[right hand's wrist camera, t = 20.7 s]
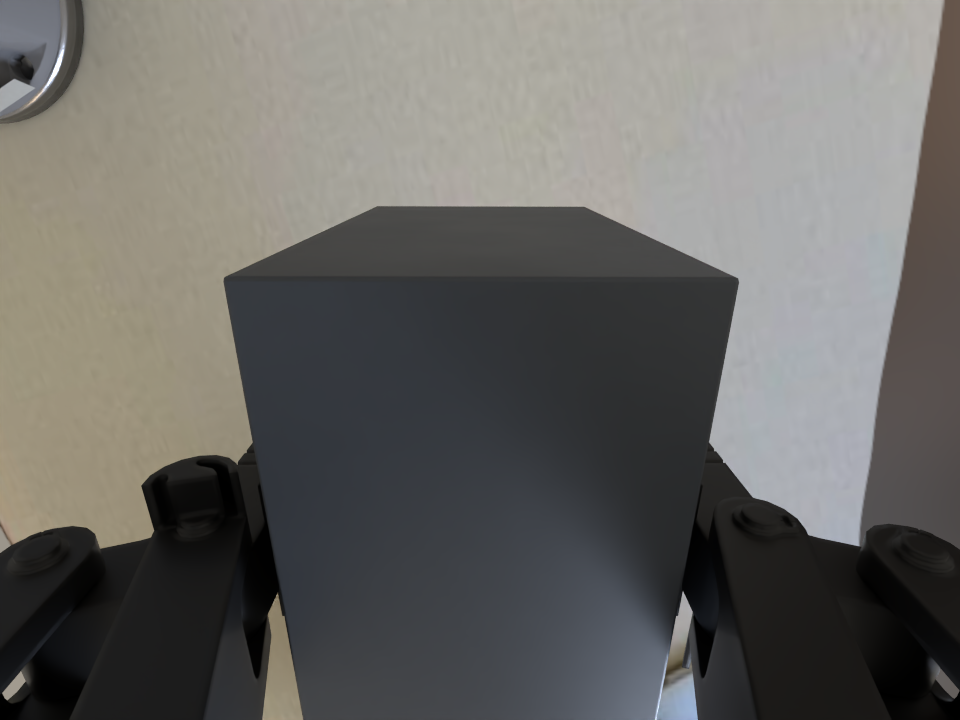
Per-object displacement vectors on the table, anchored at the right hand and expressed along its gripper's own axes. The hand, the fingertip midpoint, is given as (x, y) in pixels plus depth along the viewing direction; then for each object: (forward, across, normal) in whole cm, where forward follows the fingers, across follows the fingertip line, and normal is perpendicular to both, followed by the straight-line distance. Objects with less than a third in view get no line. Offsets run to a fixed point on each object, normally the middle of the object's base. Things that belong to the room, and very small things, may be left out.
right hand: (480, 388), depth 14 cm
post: (0, 0, -20) cm, 20 cm away
